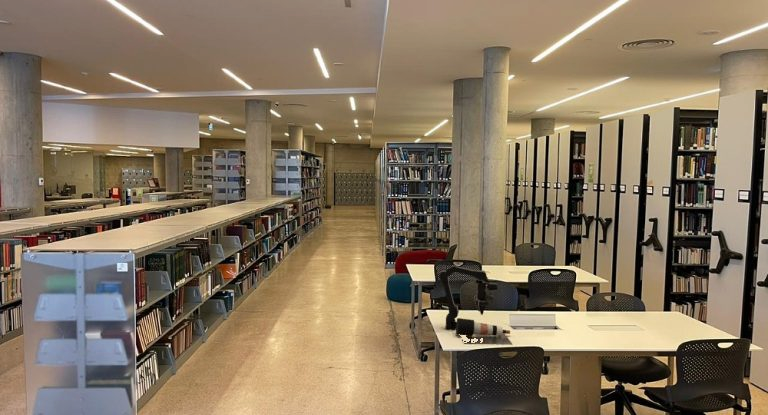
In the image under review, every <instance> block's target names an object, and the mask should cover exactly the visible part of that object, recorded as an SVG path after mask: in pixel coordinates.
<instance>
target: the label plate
mask: <svg viewBox="0 0 768 415" xmlns="http://www.w3.org/2000/svg"><path fill="white" fill-rule="evenodd" d="M466 337H467V338H468V339H470V341H469V342H467V343H464V344H463V345H510V346H511V345H513V343H512V341H511V340H510V338H509V337H508V336H507V334H505V333H502V336H494V335H479V334H473V336H468V335H466ZM474 338H476V339H478V341H477V342H475V343H471V339H474ZM481 338H483V342H482V343H480V342H481V341H480V339H481ZM464 342H466V341H464ZM473 342H474V341H473ZM468 343H469V344H468Z"/></svg>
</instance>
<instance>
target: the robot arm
mask: <svg viewBox="0 0 768 415" xmlns="http://www.w3.org/2000/svg"><path fill="white" fill-rule="evenodd" d="M454 273H458V274H462V275H467V276H471V277H473V278H475V280H474V284H476V294H475V295H474V297H473V299H474V302H475V306H476V308H477V311H478V312H479V313H480V315H481V316H482V315H483V314H484V311H485V310H486V309H485V308H486V307H488V306H489V301H491V302H494V299H495V296H494V295H492V293H491V292H487V290H488V291H492V292H493V291H495V292H498V280H497V279H496V280H491V279H489V278H488V276H487V273H486V271H485V270H481V269H470V268H466V267H462V266H458V265H456V264H455V265H452V266H451V267H449V268H447V269H445V270H441V271H440V272H439V275H438V277H439V280H440V282H441V283H442V286H443V288H444V292H445V296H446V301H447V303H448V304H447V305H448V314H446V316H445V327H444V328H445V330H446V331H447V330H449V331H451V330H452V331H456V321H457V319H456V318H458V315H459V312H460V310H459V306H458V304H455V302H454V298H453V294H452V290H451V286H450V278H449V277H450V276H452V275H453V274H454ZM487 300H488V301H487Z"/></svg>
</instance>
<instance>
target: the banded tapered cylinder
mask: <svg viewBox="0 0 768 415" xmlns="http://www.w3.org/2000/svg"><path fill="white" fill-rule="evenodd" d="M502 333H504V334H505V335H510V334H511V330H507V329H503V326H502V325H501V326H500V325H493V324H487V323H483V322H477V321H475V320H474V319H471V318H470V319H468V318H463V317H462V318H461V317H459V318H458V317H457V319H456V330H455V334H456V335H459V334H460V335H468V336H473V334H479V335H494V336H502ZM460 335H459V336H460Z"/></svg>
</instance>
